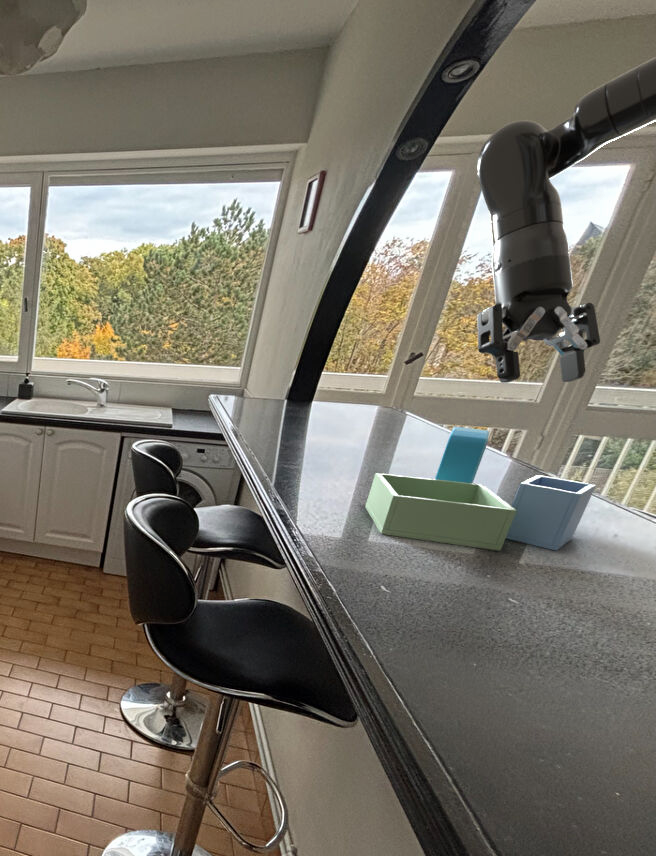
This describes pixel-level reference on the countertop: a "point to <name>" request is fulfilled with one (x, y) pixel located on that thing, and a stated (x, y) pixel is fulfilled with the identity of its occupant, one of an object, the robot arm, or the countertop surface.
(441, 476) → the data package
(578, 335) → the robot arm
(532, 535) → the small bin
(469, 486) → the green tote
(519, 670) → the countertop surface
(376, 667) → the countertop surface
